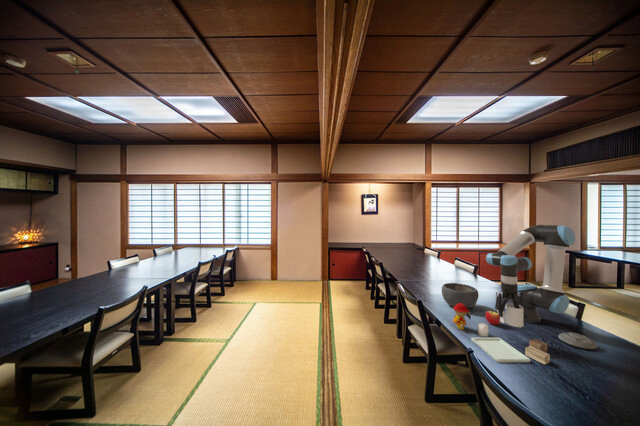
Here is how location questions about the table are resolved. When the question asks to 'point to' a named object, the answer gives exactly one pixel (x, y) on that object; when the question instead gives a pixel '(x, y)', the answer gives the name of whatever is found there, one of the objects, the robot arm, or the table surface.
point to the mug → (514, 315)
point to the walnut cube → (538, 345)
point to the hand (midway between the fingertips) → (509, 322)
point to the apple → (492, 317)
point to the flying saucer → (577, 340)
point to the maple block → (537, 355)
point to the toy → (461, 315)
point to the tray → (500, 350)
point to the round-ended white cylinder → (483, 329)
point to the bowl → (459, 294)
